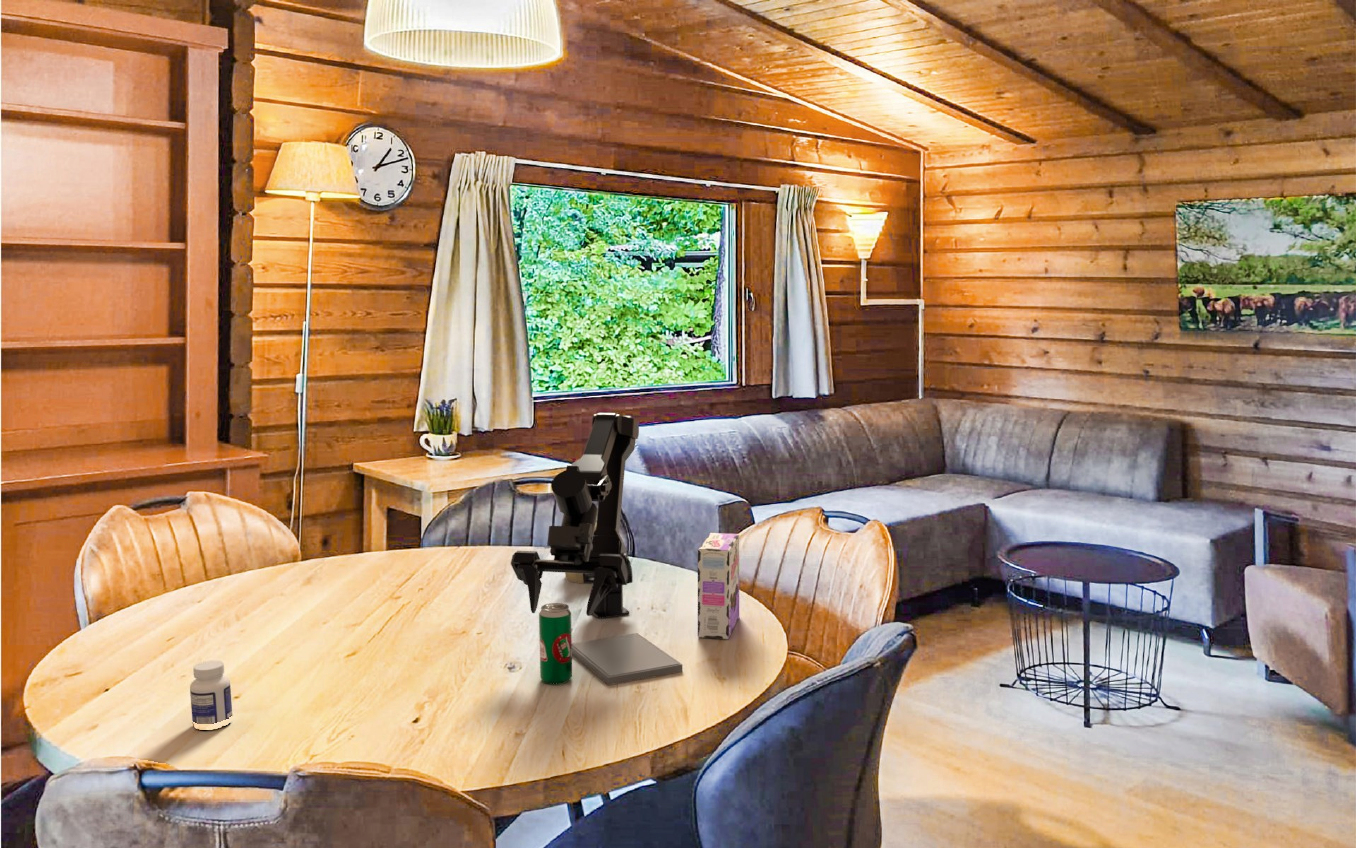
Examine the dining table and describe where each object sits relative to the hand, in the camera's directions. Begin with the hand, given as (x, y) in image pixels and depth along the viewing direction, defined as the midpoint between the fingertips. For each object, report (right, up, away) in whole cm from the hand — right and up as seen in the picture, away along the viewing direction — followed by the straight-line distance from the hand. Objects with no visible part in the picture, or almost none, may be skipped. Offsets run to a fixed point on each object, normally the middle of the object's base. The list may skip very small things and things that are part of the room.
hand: (560, 613), depth 169 cm
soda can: (0, -11, -2) cm, 11 cm away
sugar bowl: (0, -3, +57) cm, 58 cm away
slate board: (+10, -9, +7) cm, 15 cm away
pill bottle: (-48, -13, -18) cm, 53 cm away
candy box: (+27, -7, +24) cm, 37 cm away
